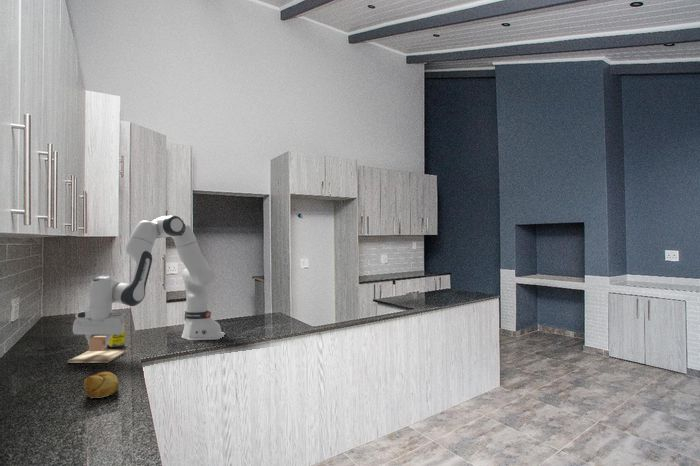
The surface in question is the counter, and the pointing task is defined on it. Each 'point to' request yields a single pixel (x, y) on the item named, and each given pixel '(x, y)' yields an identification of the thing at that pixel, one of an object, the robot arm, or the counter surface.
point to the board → (97, 356)
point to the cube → (97, 343)
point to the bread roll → (101, 384)
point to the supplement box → (117, 340)
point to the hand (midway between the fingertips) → (98, 344)
